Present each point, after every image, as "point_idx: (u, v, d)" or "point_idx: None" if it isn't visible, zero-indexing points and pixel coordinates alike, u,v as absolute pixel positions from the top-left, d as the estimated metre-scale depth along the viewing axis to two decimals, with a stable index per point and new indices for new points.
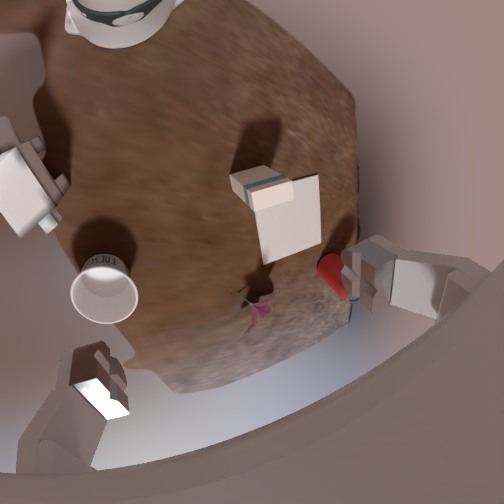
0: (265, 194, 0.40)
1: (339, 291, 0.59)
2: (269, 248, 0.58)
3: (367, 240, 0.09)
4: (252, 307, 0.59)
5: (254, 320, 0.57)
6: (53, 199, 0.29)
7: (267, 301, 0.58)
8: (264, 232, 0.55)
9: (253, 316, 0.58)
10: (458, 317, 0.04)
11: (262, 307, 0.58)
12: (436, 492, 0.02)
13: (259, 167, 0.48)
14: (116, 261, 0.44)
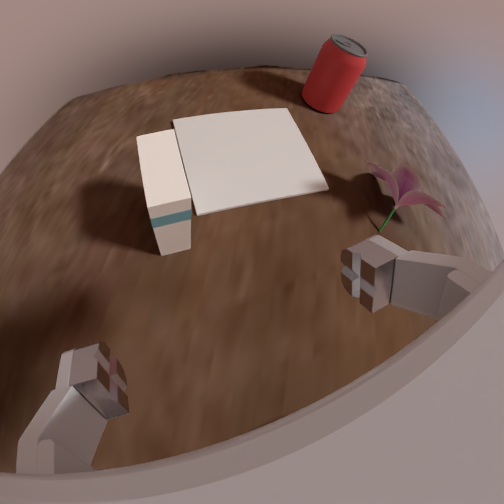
0: (155, 179, 0.18)
1: (354, 69, 0.30)
2: (299, 180, 0.33)
3: (367, 240, 0.09)
4: (401, 203, 0.30)
5: (422, 197, 0.28)
6: None
7: (389, 177, 0.30)
8: (270, 189, 0.31)
9: (416, 200, 0.29)
10: (458, 317, 0.04)
11: (399, 184, 0.29)
12: (437, 492, 0.02)
13: None
14: None
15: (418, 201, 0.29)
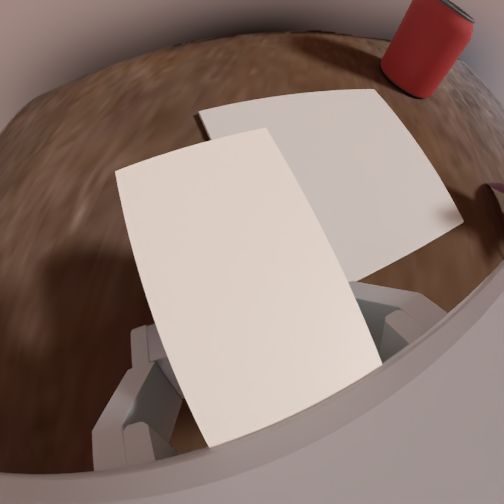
0: (256, 405, 0.04)
1: (465, 38, 0.13)
2: (431, 213, 0.17)
3: None
4: None
5: None
6: None
7: None
8: (400, 237, 0.16)
9: None
10: (458, 317, 0.04)
11: None
12: (436, 492, 0.02)
13: None
14: None
15: None
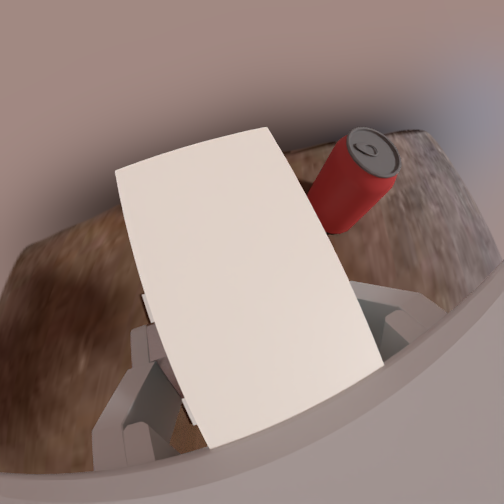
0: (257, 406, 0.04)
1: (381, 194, 0.23)
2: None
3: None
4: None
5: None
6: None
7: None
8: None
9: None
10: (458, 317, 0.04)
11: None
12: (437, 491, 0.02)
13: None
14: None
15: None
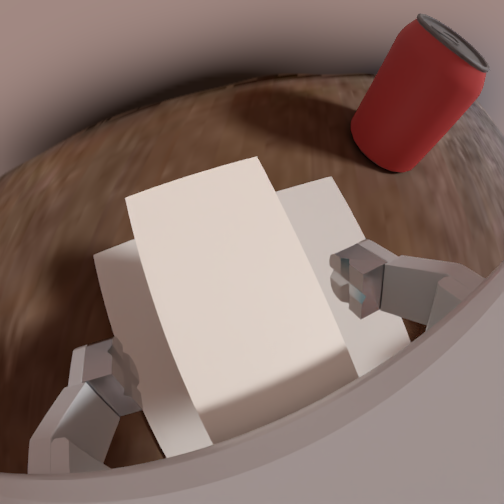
0: (245, 396, 0.05)
1: (472, 98, 0.11)
2: None
3: (356, 244, 0.09)
4: None
5: None
6: None
7: None
8: None
9: None
10: (458, 317, 0.04)
11: None
12: (437, 491, 0.02)
13: None
14: None
15: None
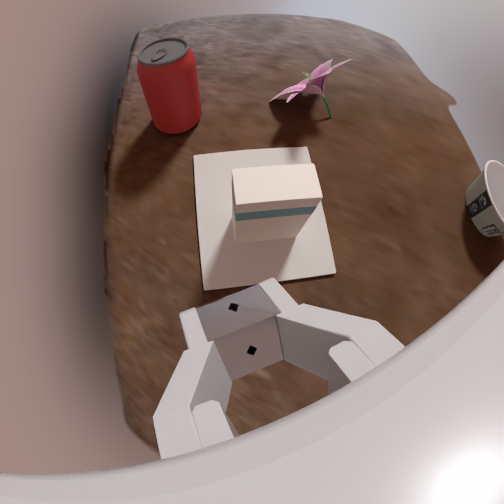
0: (294, 188, 0.21)
1: (195, 61, 0.25)
2: None
3: (257, 285, 0.08)
4: (323, 89, 0.32)
5: None
6: None
7: (305, 89, 0.31)
8: None
9: None
10: (458, 317, 0.04)
11: (314, 84, 0.31)
12: (437, 491, 0.02)
13: (245, 241, 0.29)
14: (485, 225, 0.31)
15: None
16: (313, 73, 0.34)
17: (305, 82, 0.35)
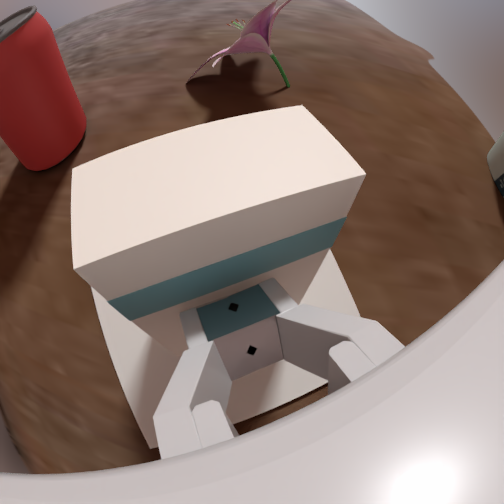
0: (269, 165, 0.06)
1: (50, 33, 0.09)
2: None
3: (257, 285, 0.08)
4: (269, 42, 0.18)
5: None
6: None
7: (241, 42, 0.16)
8: None
9: None
10: (458, 317, 0.04)
11: (254, 32, 0.16)
12: (436, 492, 0.02)
13: None
14: None
15: None
16: None
17: None
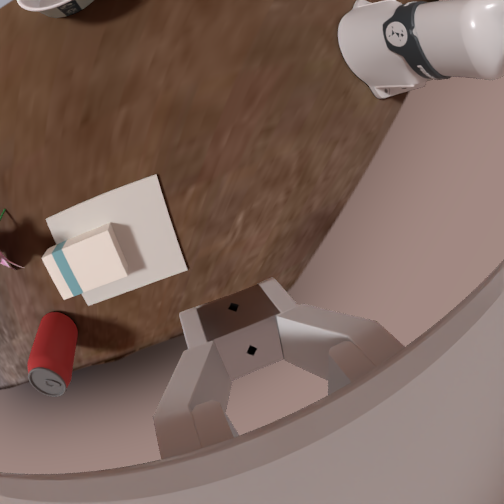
0: None
1: (36, 353, 0.26)
2: (71, 221, 0.31)
3: (257, 285, 0.08)
4: None
5: None
6: None
7: (2, 256, 0.24)
8: (96, 206, 0.31)
9: None
10: (458, 317, 0.04)
11: None
12: (437, 491, 0.02)
13: (120, 270, 0.33)
14: None
15: None
16: None
17: None
